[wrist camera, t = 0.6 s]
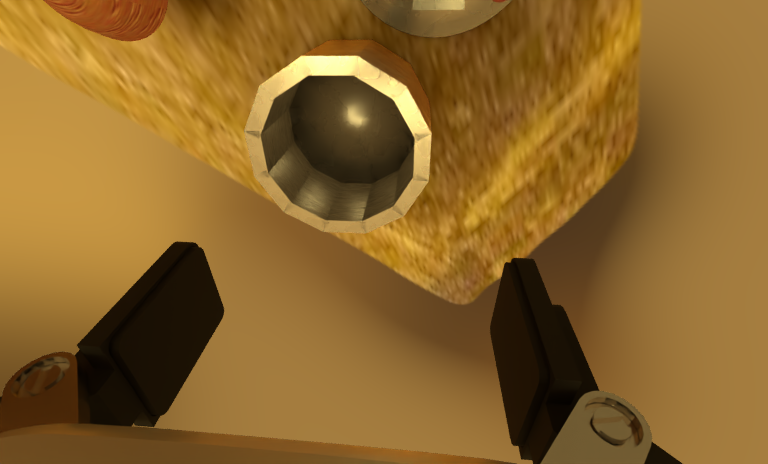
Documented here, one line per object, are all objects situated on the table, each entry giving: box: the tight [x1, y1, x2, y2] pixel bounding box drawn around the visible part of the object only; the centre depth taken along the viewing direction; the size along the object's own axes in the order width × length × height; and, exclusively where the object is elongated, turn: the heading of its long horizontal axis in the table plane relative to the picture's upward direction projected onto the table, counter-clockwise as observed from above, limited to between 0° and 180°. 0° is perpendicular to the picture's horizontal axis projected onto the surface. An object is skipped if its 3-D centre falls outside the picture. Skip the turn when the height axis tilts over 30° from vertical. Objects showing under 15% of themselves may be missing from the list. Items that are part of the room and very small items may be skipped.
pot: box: [244, 39, 432, 233], centre depth 32 cm, size 14×14×9 cm
